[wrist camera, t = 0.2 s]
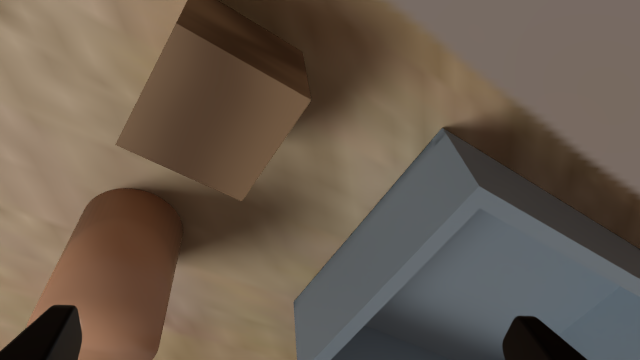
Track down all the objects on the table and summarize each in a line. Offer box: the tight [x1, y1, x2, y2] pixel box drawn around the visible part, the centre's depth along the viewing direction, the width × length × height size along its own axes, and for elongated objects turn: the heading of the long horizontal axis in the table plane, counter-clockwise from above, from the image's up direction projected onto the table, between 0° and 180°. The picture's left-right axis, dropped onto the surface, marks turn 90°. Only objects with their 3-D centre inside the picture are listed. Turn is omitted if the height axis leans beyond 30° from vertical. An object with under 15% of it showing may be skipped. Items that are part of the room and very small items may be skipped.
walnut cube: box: [116, 0, 311, 201], centre depth 19 cm, size 5×5×5 cm
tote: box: [294, 128, 640, 360], centre depth 28 cm, size 18×14×5 cm
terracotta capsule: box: [27, 188, 183, 360], centre depth 23 cm, size 5×5×7 cm
